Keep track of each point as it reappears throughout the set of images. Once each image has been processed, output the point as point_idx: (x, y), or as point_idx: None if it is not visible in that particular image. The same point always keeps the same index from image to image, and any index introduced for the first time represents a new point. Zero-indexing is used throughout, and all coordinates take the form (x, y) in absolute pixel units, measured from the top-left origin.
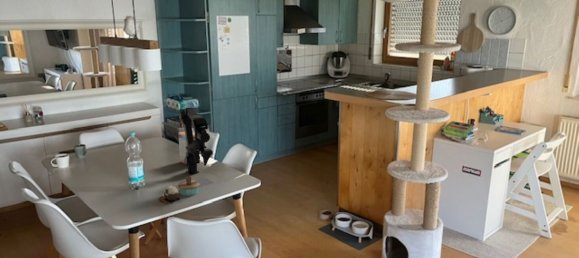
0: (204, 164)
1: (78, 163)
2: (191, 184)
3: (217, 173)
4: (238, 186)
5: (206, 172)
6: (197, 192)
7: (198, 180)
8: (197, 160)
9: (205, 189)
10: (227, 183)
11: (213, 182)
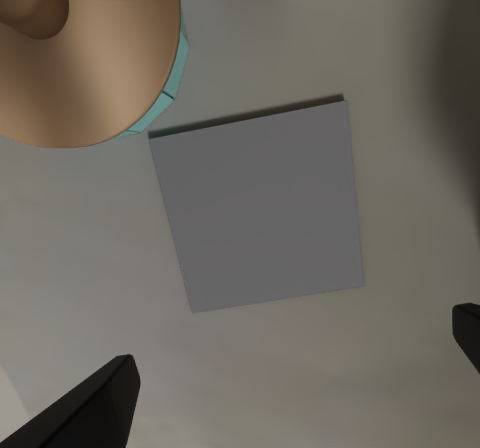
0: (98, 373)
1: None
2: (9, 30)
3: (380, 402)
4: None
5: None
6: None
7: (311, 216)
8: (469, 344)
9: (91, 198)
10: None
11: (195, 307)
